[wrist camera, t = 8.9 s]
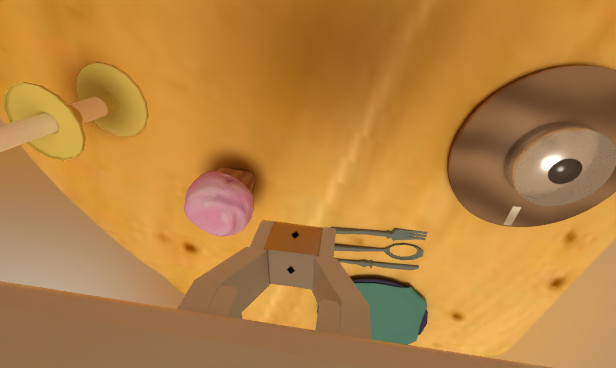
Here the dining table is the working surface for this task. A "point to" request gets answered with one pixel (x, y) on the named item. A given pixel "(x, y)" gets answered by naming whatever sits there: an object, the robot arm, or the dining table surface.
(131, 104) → the candle
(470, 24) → the dining table surface
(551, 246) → the dining table surface
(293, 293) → the dining table surface
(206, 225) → the cupcake
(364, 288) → the cutlery set
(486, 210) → the platter
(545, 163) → the cover
